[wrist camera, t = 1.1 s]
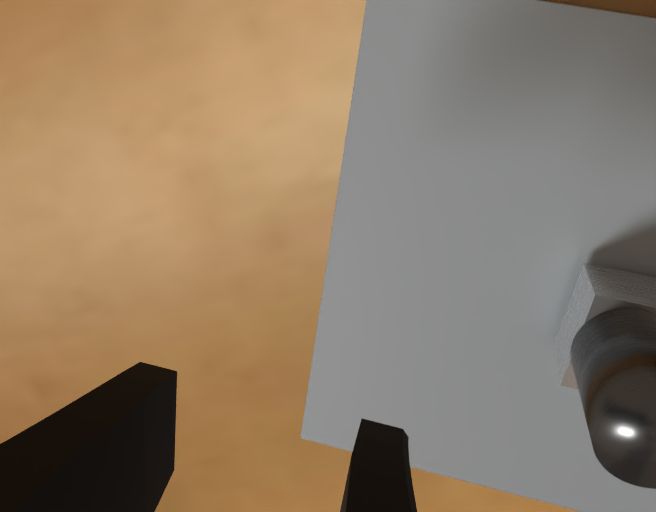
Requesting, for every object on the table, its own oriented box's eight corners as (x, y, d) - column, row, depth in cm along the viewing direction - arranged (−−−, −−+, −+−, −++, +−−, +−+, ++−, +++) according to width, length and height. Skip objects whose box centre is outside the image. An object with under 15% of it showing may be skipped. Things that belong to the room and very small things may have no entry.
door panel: (770, 530, 18) (826, 636, 15) (310, 413, 20) (282, 487, 17) (1069, 81, 12) (1252, 115, 9) (378, -26, 14) (354, -25, 11)
